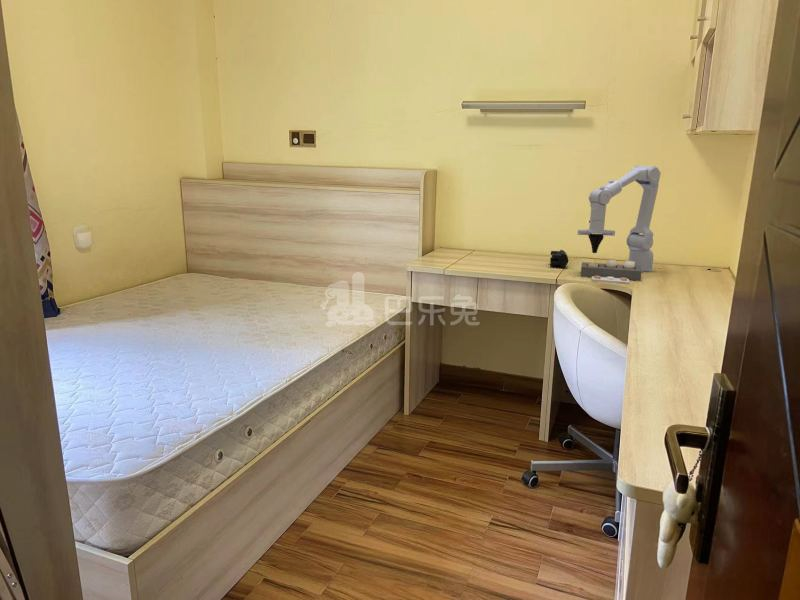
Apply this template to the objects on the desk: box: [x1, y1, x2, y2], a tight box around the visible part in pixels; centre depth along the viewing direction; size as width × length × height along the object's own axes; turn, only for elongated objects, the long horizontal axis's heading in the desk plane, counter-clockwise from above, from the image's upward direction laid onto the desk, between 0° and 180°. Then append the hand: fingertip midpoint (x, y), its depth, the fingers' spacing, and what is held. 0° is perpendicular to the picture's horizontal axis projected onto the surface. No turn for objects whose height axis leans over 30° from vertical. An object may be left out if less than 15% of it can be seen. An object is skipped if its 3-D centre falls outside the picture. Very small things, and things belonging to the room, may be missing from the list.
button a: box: [623, 260, 635, 269], centre depth 247 cm, size 4×4×4 cm
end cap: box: [549, 249, 569, 269], centre depth 268 cm, size 10×7×7 cm
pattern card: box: [591, 275, 630, 285], centre depth 241 cm, size 14×6×2 cm, turn 72°
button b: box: [605, 259, 617, 268], centre depth 249 cm, size 4×4×4 cm
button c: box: [588, 262, 598, 267], centre depth 252 cm, size 4×4×4 cm
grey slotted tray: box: [580, 261, 643, 282], centre depth 250 cm, size 23×11×4 cm, turn 72°
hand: (594, 252), depth 250 cm, fingers closed
